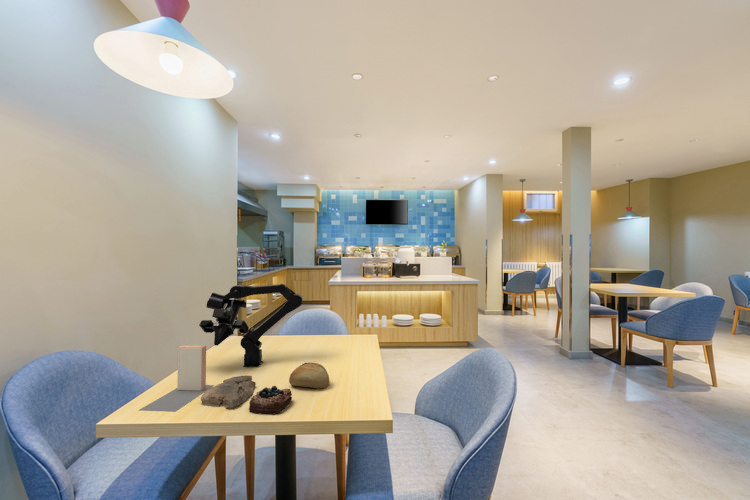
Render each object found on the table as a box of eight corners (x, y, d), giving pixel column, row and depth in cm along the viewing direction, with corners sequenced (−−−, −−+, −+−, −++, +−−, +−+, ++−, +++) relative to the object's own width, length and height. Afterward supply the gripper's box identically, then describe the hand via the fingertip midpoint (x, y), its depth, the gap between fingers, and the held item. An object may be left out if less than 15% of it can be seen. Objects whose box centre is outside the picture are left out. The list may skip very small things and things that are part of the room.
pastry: (280, 416, 93) (280, 396, 93) (243, 413, 95) (243, 394, 95) (295, 400, 104) (295, 382, 104) (261, 398, 106) (262, 380, 106)
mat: (183, 385, 116) (183, 384, 116) (214, 386, 115) (214, 385, 115) (138, 411, 96) (138, 410, 96) (175, 413, 95) (175, 411, 95)
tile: (181, 387, 113) (182, 345, 114) (205, 388, 112) (206, 345, 113) (177, 390, 111) (177, 347, 111) (201, 391, 110) (201, 347, 110)
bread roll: (294, 380, 121) (294, 359, 121) (332, 381, 119) (332, 360, 120) (284, 390, 112) (284, 367, 112) (326, 392, 110) (326, 369, 110)
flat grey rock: (231, 383, 119) (193, 407, 99) (232, 370, 119) (194, 391, 99) (266, 386, 117) (235, 411, 97) (267, 372, 117) (235, 395, 97)
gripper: (202, 300, 131) (183, 333, 120) (245, 300, 130) (230, 334, 118) (213, 316, 139) (196, 348, 128) (254, 316, 137) (241, 349, 126)
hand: (215, 345), depth 125 cm, fingers closed
